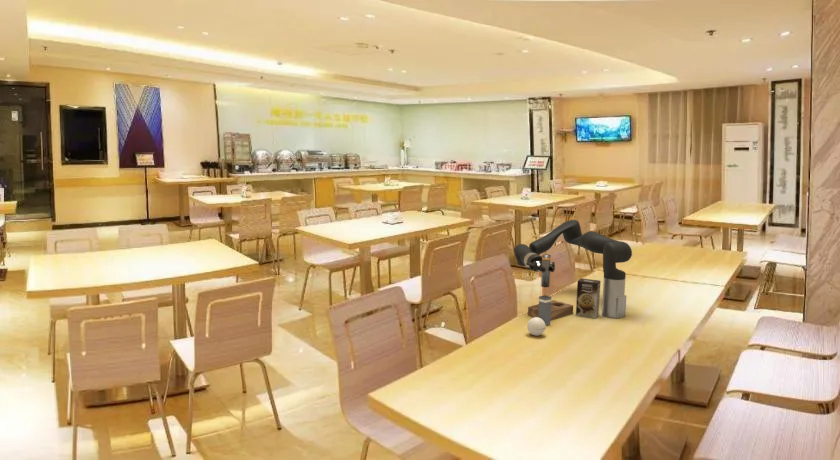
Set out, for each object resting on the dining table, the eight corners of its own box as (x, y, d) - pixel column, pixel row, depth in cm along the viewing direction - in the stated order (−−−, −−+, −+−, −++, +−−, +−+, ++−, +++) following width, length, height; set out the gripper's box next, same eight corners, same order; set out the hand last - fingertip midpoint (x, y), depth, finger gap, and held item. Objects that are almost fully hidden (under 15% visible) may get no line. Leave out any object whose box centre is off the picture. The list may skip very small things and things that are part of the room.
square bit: (550, 324, 256) (551, 296, 254) (544, 325, 254) (545, 298, 252) (543, 322, 259) (544, 295, 257) (538, 323, 257) (538, 296, 255)
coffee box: (575, 315, 268) (576, 280, 266) (578, 312, 274) (580, 277, 272) (596, 318, 264) (597, 283, 262) (599, 315, 270) (600, 279, 267)
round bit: (551, 286, 265) (552, 255, 262) (545, 287, 262) (547, 256, 260) (544, 284, 267) (545, 254, 265) (539, 286, 265) (540, 255, 263)
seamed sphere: (531, 338, 237) (532, 321, 236) (523, 333, 244) (524, 315, 243) (554, 336, 240) (555, 319, 239) (546, 331, 247) (546, 313, 246)
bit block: (572, 313, 271) (573, 305, 271) (547, 321, 260) (547, 312, 259) (553, 308, 280) (553, 300, 279) (527, 315, 268) (528, 306, 268)
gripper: (548, 269, 279) (563, 277, 263) (519, 270, 277) (532, 279, 260) (549, 253, 278) (564, 261, 261) (519, 254, 276) (533, 262, 259)
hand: (548, 269), depth 261 cm, fingers closed on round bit, 3 cm apart
